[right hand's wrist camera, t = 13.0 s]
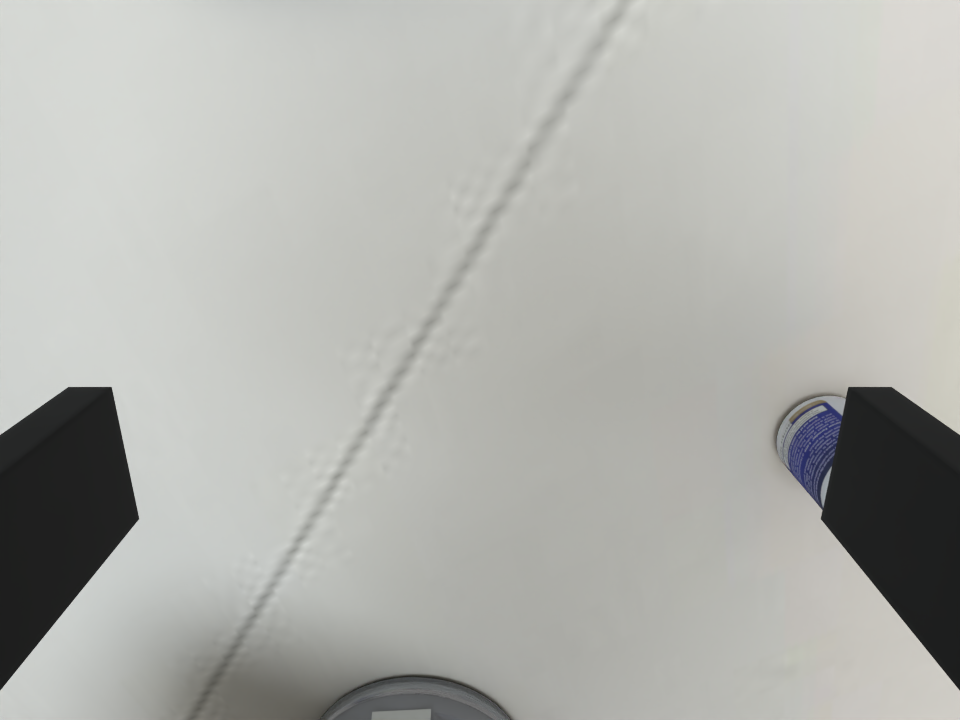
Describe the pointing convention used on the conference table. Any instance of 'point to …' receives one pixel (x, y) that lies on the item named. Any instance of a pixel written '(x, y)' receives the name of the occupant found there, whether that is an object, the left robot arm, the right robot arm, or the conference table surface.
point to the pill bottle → (811, 442)
